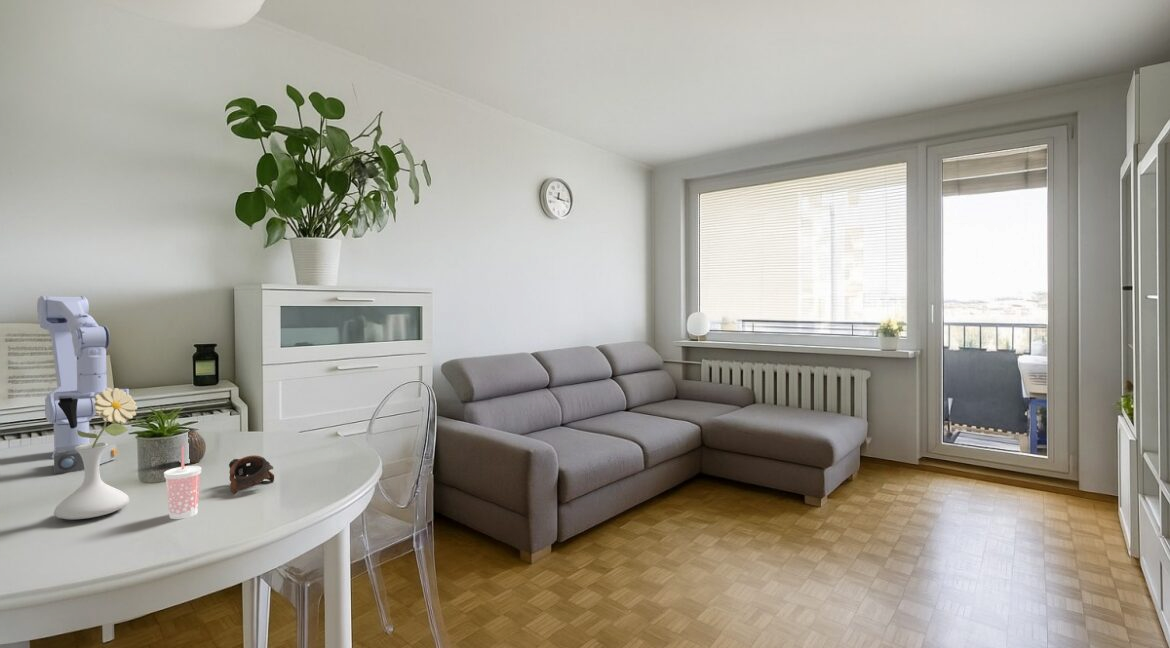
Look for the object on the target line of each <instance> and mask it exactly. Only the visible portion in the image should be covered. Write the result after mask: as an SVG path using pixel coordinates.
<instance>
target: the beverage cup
mask: <svg viewBox="0 0 1170 648" xmlns="http://www.w3.org/2000/svg"><path fill="white" fill-rule="evenodd" d="M180 464H181V465H180V466H179V467H173V468H171V469H170V468H169V469H167V470H166V471H165V470H164V472H163V475H164V476H163V478H165V484H166V493H167V494H166V495H167V502H168V504H167V505H168V515H169V518H170V519H173V520H180V519H188V518H190V517H194V516H196V515H197V514H198V511H199V498H200V497H199V493H200V492H199V491H200V479H201V478H200V477H201V473H202V467H201V466H199V465H186V466H185V464H184V445H181V463H180Z"/></svg>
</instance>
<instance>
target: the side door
mask: <svg viewBox="0 0 1170 648" xmlns="http://www.w3.org/2000/svg"><path fill="white" fill-rule="evenodd" d="M117 455H118V449H117V443H112V444H109V445H107V446H106V447H105V449H104V450H103V452H102V455H101V458H100V465H101V464H105V463H107V462H110V461H112V460H115V459H117Z"/></svg>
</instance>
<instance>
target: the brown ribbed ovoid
mask: <svg viewBox="0 0 1170 648" xmlns="http://www.w3.org/2000/svg"><path fill="white" fill-rule="evenodd" d="M188 429H189V430H190V431H189V432H188V443H189V459H190V464H189V465H193V464H196V463H199V462H201V460H203V458H204V456H205V454H206V451H207V450H206V449H207V448H206V447H207V445H206V441H205V439H204V437H202V435H200V434H199V433H198V432H197V429H196V428H188Z"/></svg>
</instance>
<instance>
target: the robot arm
mask: <svg viewBox="0 0 1170 648" xmlns="http://www.w3.org/2000/svg"><path fill="white" fill-rule="evenodd" d="M36 304H37V305H36V306H37V307H36V308H37V309H36V311H37V318H38V324H39V326H40V327H39V328H41V329H44V330H47V331H48V333H49V336H50V338H51V347H52V354H53V362H54V368H55V369H54V371H55V378H56V386H57V387H56V388H54V389H53V390H52V391H50V392H49V393H48V394H47V395H46V397H45V399H44V403H45V404H44V414H45V415H44V416H45V418H46V421H47V422H49V423H50V424H53V440H54V441H53V445H54V446H53V447H54V448H53V449H54V450H53V452H52V455H51V459H54V454H55V451H56V448H57V447H65V446H74V445H82V444H90V443H91V442H90V439H91V438H86V437H81V436H79V435H78V432H77V430H79V431H81V432H85V433H90V421H92V419H93V418H94V417H95V416H96V415H97V413H95V406H94V403H96V402H95V401H94V398H95V396H96V395H97V394H102V391H103V390H106V389H107V388H108V382H107V381H108V379H107V376H108V375H107V349H108V348H109V346H110V341H111V340H110V338H111V335H110V329H109V328H108V327H107V325H103V326H102V325H101V326H100V325H99V324H98V323H97V321H96V320H95V319H94V318H93V316H92V315H90V314H89V311H90V305H89V300H88V298H86V297H85V295H80V296H69V295H68V296H65V295H64V296H59V295H58V296H57V295H56V296H55V295H53V296H50V295H41V296H39V297H38V299H37V303H36ZM111 389H112V390H114V389H115V388H111ZM118 389H119V390H123V391H124V392H126V395H130V389H129V388H118ZM102 395H103V394H102ZM111 424H114V423H112V422H109V421H108V426H109V425H111Z"/></svg>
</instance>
